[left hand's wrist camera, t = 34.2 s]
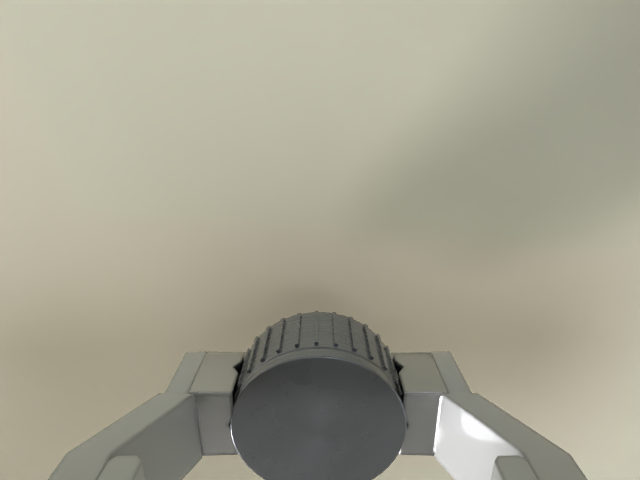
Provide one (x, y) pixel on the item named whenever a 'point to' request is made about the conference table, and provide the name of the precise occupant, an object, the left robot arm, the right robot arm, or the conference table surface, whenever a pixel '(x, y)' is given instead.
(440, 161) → the conference table surface
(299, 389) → the cap
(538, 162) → the conference table surface
